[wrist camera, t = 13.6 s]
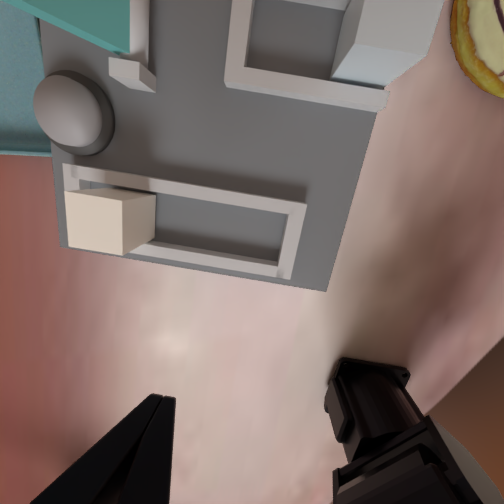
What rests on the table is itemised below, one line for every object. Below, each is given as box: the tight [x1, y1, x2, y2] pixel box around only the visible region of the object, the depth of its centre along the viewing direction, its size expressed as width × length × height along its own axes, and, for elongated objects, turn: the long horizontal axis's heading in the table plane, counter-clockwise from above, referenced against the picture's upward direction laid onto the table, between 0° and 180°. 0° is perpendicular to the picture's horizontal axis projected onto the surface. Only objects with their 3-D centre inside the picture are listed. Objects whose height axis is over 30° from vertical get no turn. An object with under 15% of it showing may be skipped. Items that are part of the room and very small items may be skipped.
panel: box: [33, 0, 390, 292], centre depth 15 cm, size 20×18×4 cm
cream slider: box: [64, 188, 156, 256], centre depth 15 cm, size 3×3×4 cm
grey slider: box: [329, 0, 444, 89], centre depth 11 cm, size 3×3×4 cm
